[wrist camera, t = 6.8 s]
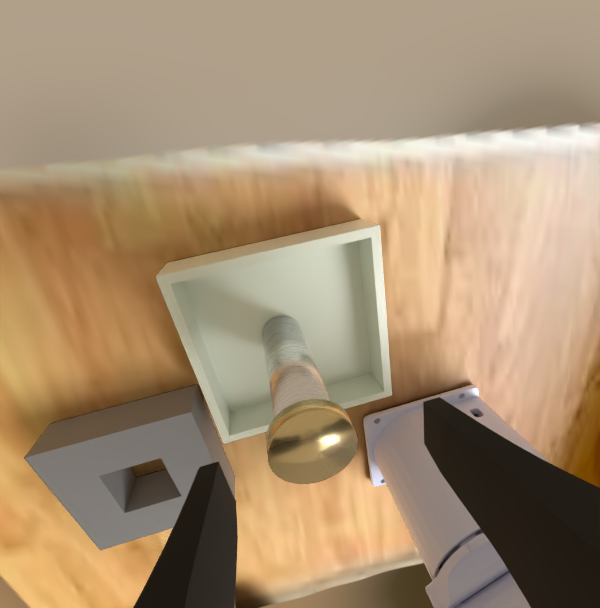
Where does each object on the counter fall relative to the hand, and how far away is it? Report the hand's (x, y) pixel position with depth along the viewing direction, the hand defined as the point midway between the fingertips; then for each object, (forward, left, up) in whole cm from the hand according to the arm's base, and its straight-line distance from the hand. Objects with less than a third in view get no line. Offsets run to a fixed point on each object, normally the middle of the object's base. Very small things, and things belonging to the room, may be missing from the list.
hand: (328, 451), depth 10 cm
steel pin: (+1, 0, -9) cm, 9 cm away
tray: (0, 0, -10) cm, 10 cm away
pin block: (+11, +7, -10) cm, 16 cm away
